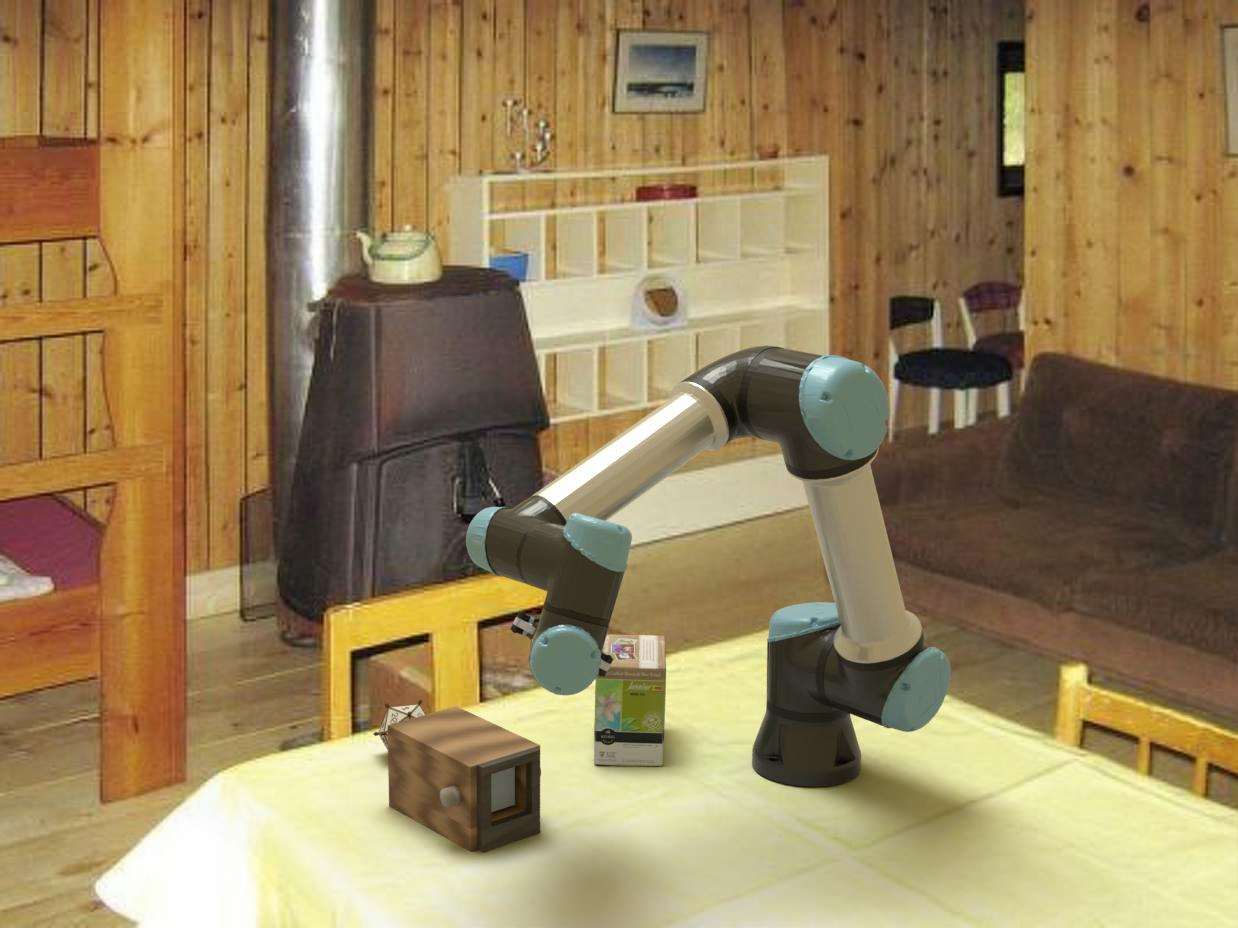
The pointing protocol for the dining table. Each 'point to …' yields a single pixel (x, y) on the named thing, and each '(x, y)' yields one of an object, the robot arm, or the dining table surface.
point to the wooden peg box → (463, 777)
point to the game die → (398, 718)
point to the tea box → (631, 702)
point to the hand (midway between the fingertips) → (559, 632)
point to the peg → (502, 789)
